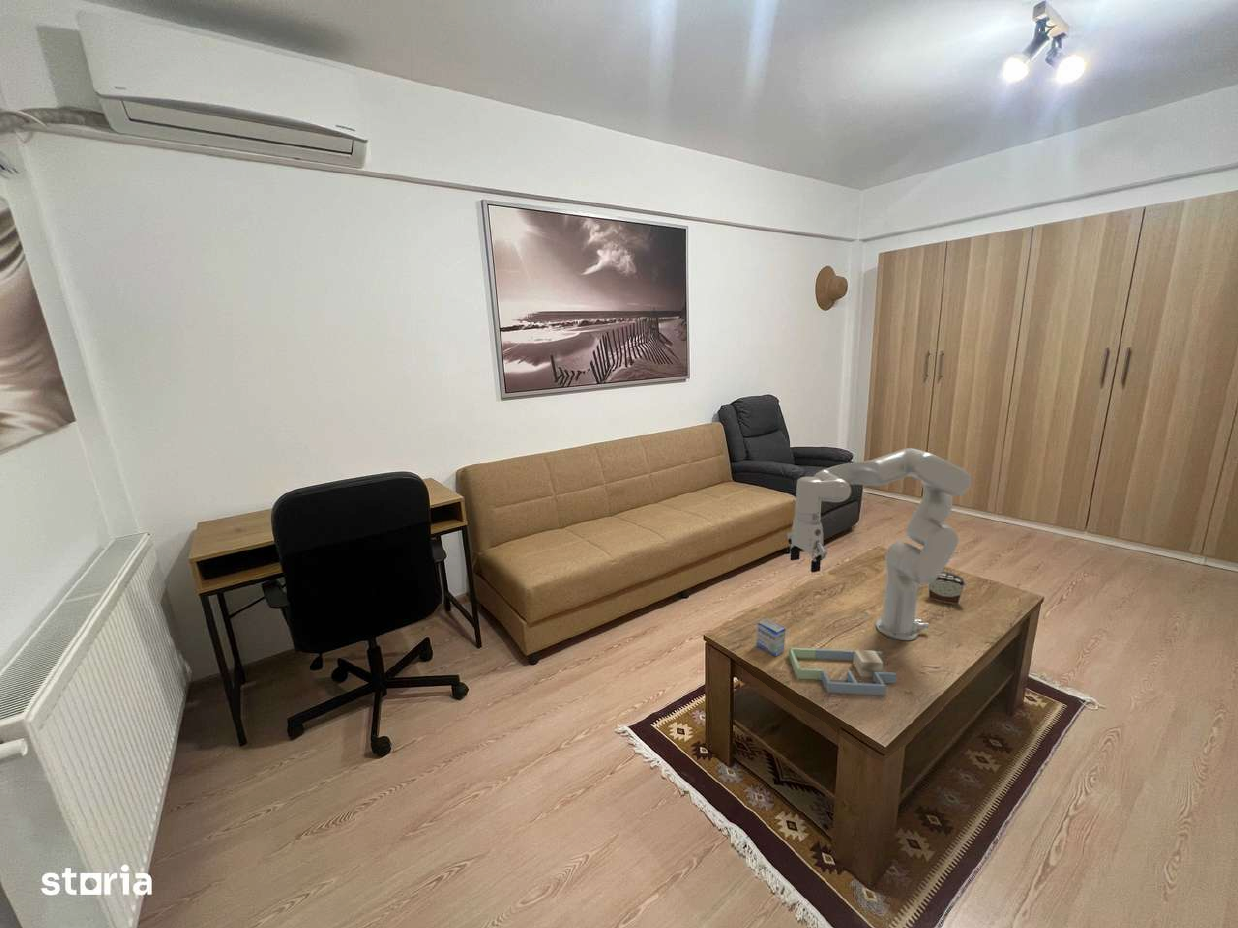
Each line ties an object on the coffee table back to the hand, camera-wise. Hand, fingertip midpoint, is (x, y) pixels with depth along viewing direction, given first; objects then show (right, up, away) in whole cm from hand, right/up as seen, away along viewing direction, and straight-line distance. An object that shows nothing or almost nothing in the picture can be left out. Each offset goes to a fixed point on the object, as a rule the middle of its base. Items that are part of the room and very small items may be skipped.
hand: (804, 565), depth 160 cm
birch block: (+15, -30, -11) cm, 35 cm away
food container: (+65, -19, +30) cm, 74 cm away
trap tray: (+7, -30, -13) cm, 33 cm away
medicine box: (-11, -28, +1) cm, 30 cm away
